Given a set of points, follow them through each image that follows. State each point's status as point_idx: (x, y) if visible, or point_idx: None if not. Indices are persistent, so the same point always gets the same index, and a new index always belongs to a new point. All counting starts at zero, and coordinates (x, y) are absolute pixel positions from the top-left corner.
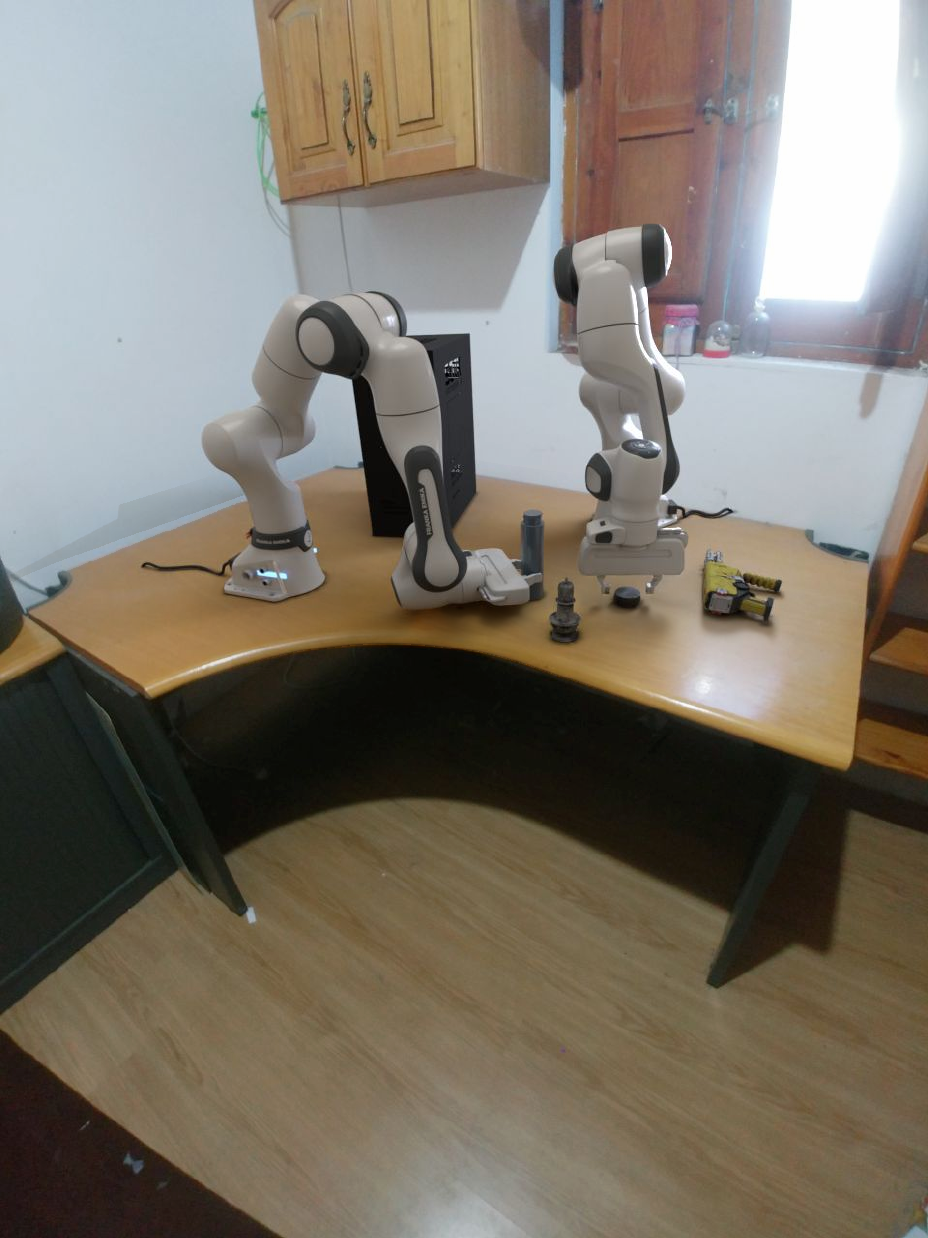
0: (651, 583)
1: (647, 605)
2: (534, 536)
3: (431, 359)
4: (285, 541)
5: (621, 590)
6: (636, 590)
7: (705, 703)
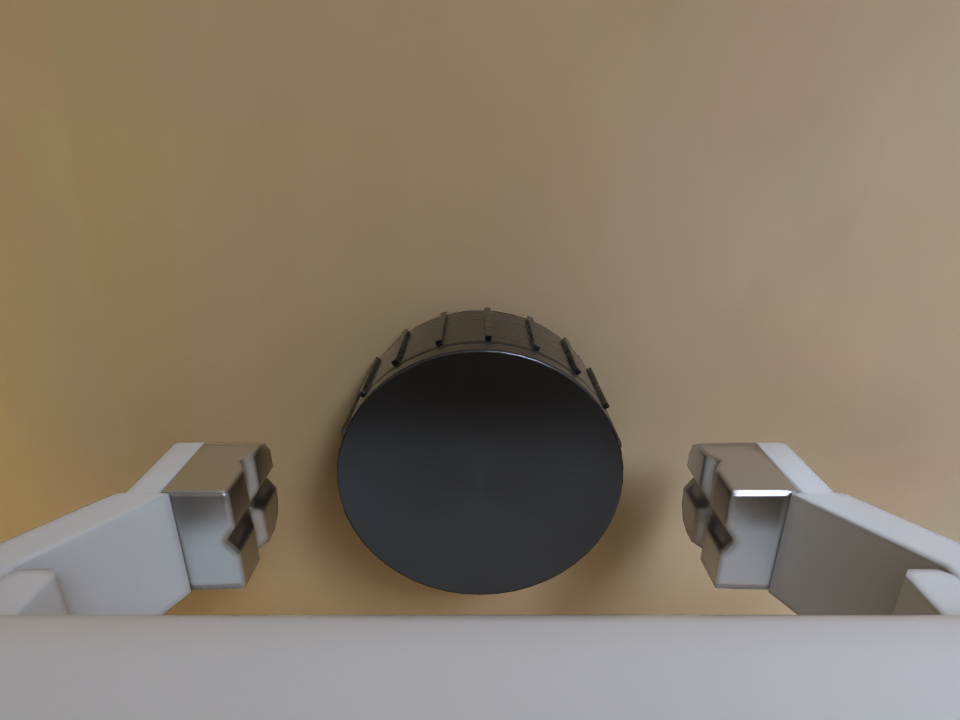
0: (795, 548)
1: (658, 477)
2: None
3: None
4: None
5: (417, 442)
6: (590, 448)
7: None
